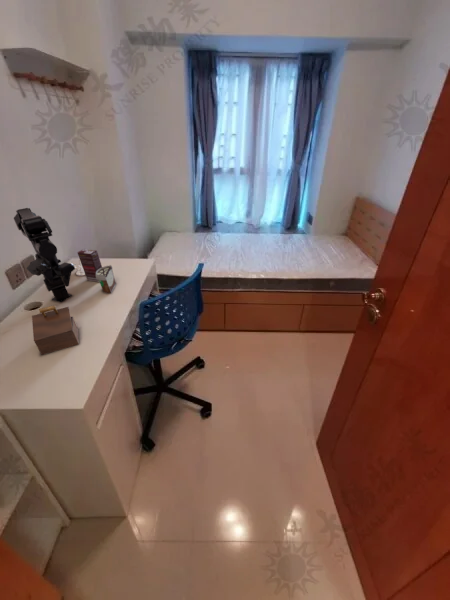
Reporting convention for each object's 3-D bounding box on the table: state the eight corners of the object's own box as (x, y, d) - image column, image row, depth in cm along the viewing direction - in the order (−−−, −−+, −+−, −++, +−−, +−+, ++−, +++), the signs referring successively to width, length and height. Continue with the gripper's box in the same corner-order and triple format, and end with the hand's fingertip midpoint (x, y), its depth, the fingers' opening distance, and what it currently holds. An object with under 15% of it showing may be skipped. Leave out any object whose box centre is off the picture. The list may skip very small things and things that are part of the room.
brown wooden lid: (32, 316, 103) (27, 309, 100) (69, 307, 108) (65, 300, 104) (34, 341, 98) (28, 334, 94) (73, 330, 102) (68, 324, 98)
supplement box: (106, 277, 149) (97, 250, 140) (100, 282, 145) (90, 254, 136) (93, 276, 151) (83, 248, 143) (86, 280, 147) (76, 252, 139)
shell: (95, 272, 154) (90, 257, 149) (71, 277, 151) (65, 261, 145) (95, 266, 161) (90, 251, 156) (73, 270, 158) (67, 255, 152)
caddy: (43, 338, 109) (37, 325, 106) (78, 328, 113) (72, 316, 110) (41, 355, 101) (34, 342, 98) (78, 344, 105) (73, 331, 102)
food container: (104, 283, 144) (98, 265, 138) (116, 282, 144) (111, 264, 139) (97, 296, 134) (91, 277, 128) (110, 294, 134) (104, 276, 128)
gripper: (9, 255, 106) (26, 290, 115) (43, 261, 100) (59, 298, 108) (35, 244, 115) (50, 277, 123) (68, 249, 108) (81, 284, 117)
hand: (59, 284), depth 118 cm, fingers open, 9 cm apart
